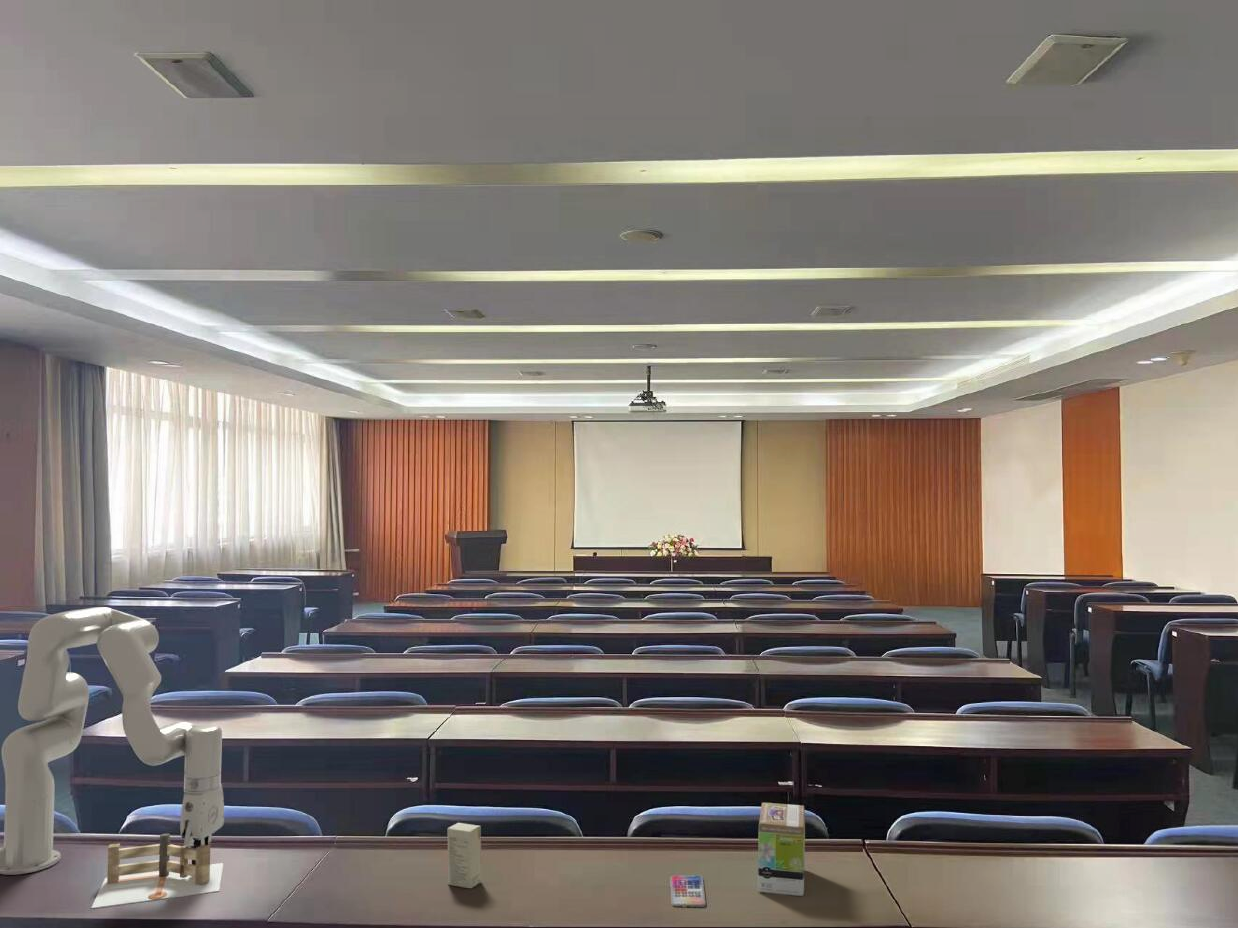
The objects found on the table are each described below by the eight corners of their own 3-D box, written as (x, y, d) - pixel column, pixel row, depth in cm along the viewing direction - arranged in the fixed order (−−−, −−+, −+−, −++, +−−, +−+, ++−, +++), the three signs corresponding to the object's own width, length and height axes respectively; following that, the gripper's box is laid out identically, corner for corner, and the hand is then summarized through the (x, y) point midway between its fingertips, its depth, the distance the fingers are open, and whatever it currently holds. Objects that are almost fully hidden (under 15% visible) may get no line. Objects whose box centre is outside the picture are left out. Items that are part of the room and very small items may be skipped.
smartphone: (670, 904, 187) (669, 875, 202) (670, 909, 187) (669, 879, 202) (706, 904, 187) (703, 874, 202) (706, 909, 187) (703, 879, 202)
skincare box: (482, 882, 199) (482, 825, 200) (470, 889, 195) (471, 831, 196) (457, 877, 202) (458, 821, 202) (446, 884, 198) (446, 827, 198)
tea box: (805, 897, 192) (804, 826, 192) (757, 893, 194) (756, 822, 194) (805, 869, 206) (804, 803, 207) (760, 865, 208) (760, 800, 209)
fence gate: (164, 876, 201) (165, 842, 201) (172, 873, 203) (172, 838, 203) (202, 884, 197) (203, 849, 197) (209, 880, 199) (210, 845, 199)
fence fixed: (107, 885, 197) (108, 843, 198) (108, 881, 199) (109, 839, 200) (168, 877, 202) (169, 836, 202) (169, 873, 203) (170, 833, 204)
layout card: (91, 909, 186) (91, 907, 186) (105, 878, 201) (105, 877, 201) (219, 891, 194) (219, 890, 194) (223, 863, 209) (223, 862, 209)
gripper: (197, 793, 196) (195, 880, 195) (236, 773, 210) (234, 854, 210) (166, 791, 197) (163, 878, 196) (206, 771, 212) (204, 851, 211)
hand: (200, 865), depth 203 cm, fingers closed
